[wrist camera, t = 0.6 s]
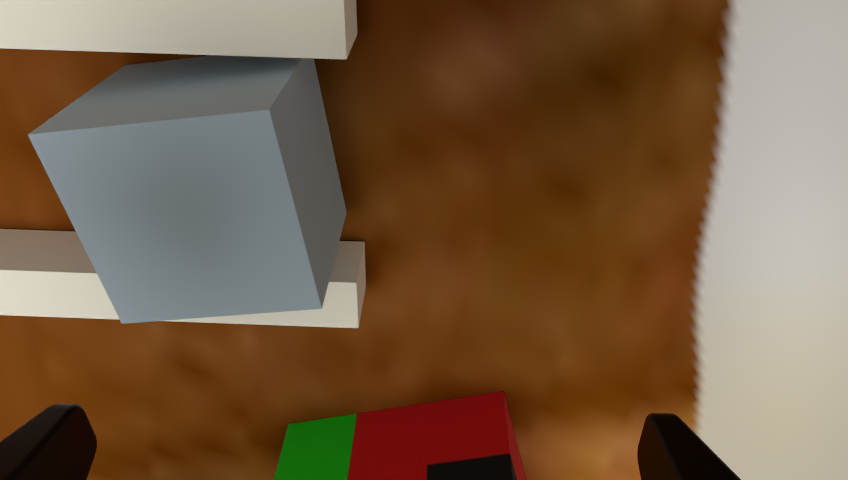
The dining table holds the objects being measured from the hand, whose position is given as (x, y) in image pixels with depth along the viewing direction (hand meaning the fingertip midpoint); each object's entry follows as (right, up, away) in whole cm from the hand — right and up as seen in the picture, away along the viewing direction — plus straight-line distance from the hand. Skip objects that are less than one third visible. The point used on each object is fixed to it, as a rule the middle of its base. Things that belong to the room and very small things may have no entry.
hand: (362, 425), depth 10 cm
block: (-5, +6, +11) cm, 14 cm away
